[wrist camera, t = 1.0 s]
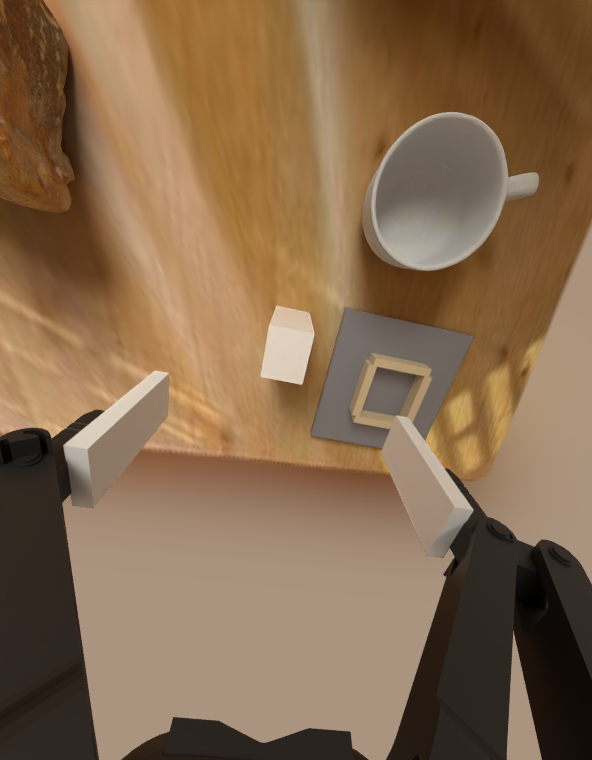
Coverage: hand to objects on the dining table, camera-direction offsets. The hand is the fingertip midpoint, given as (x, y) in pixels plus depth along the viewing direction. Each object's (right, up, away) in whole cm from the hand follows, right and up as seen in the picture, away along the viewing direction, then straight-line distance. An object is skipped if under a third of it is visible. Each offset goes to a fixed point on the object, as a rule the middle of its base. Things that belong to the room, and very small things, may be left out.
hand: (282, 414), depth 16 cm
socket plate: (+13, +1, +21) cm, 25 cm away
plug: (0, +8, +18) cm, 20 cm away
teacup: (+14, +20, +13) cm, 28 cm away
